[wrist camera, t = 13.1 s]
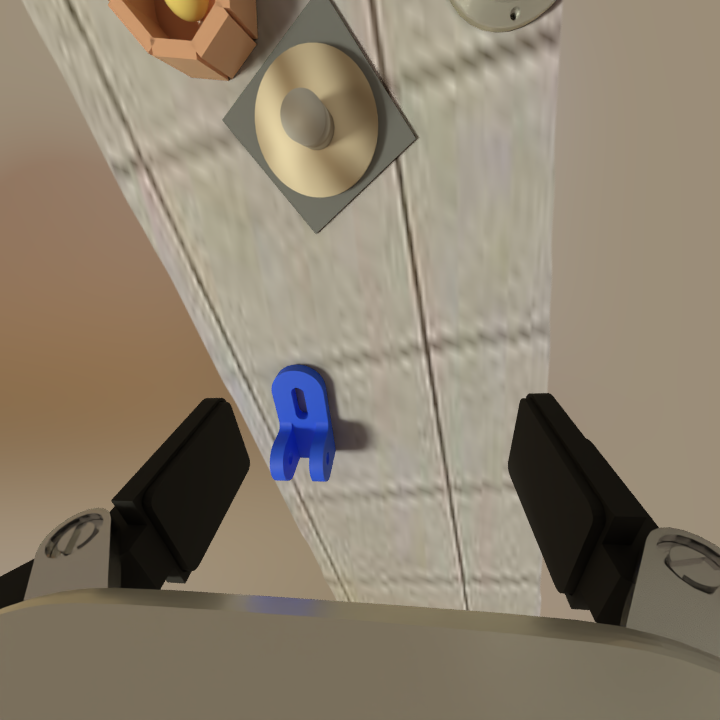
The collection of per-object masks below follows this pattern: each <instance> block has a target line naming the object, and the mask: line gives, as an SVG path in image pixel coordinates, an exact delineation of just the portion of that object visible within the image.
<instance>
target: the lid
mask: <svg viewBox="0 0 720 720" xmlns="http://www.w3.org/2000/svg"><path fill="white" fill-rule="evenodd" d="M255 127H256V134H257V139H258V143H259V146H260V149H261V152H262V154H263V156H264V158H265V160H266V162H267V164H268V165H269V167H270V169H271V170H272V171H273V173H274V174H275V175H276V176H277V177H278V178H279V179H280V181H282V182H283V183H284V184H285V185H286V186H288V187H289V188H291V189H292V190H294V191H296V192H298V193H300V194H303V195H306V196H310V197H330V196H334V195H338V194H340V193H342V192H345V191H346V190H348V189H349V188H351V187H352V186H353V185H354V184H356V183H357V182H358V181H359V179H360V178H361V177H362V176H363V175H364V173H365V172H366V170H367V168H368V167H369V165H370V163H371V160H372V158H373V155H374V152H375V148H376V144H377V138H378V114H377V108H376V103H375V99H374V96H373V92H372V90H371V87H370V85H369V83H368V81H367V79H366V77H365V75H364V74H363V72H362V71H361V69H360V68H359V67H358V65H357V64H356V63H355V62H354V61H353V60H352V59H351V58H350V57H349V56H347V55H346V54H345V53H344V52H342V51H340V50H339V49H337V48H335V47H333V46H330V45H327V44H323V43H303V44H299V45H296V46H294V47H291V48H289V49H288V50H286V51H285V52H283V53H282V54H281V55H279V56H278V57H277V58H276V59H275V60H274V61H273V63H272V64H271V65H270V66H269V68H268V70H267V71H266V73H265V74H264V77H263V79H262V81H261V83H260V86H259V90H258V93H257V98H256V104H255Z"/></svg>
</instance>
